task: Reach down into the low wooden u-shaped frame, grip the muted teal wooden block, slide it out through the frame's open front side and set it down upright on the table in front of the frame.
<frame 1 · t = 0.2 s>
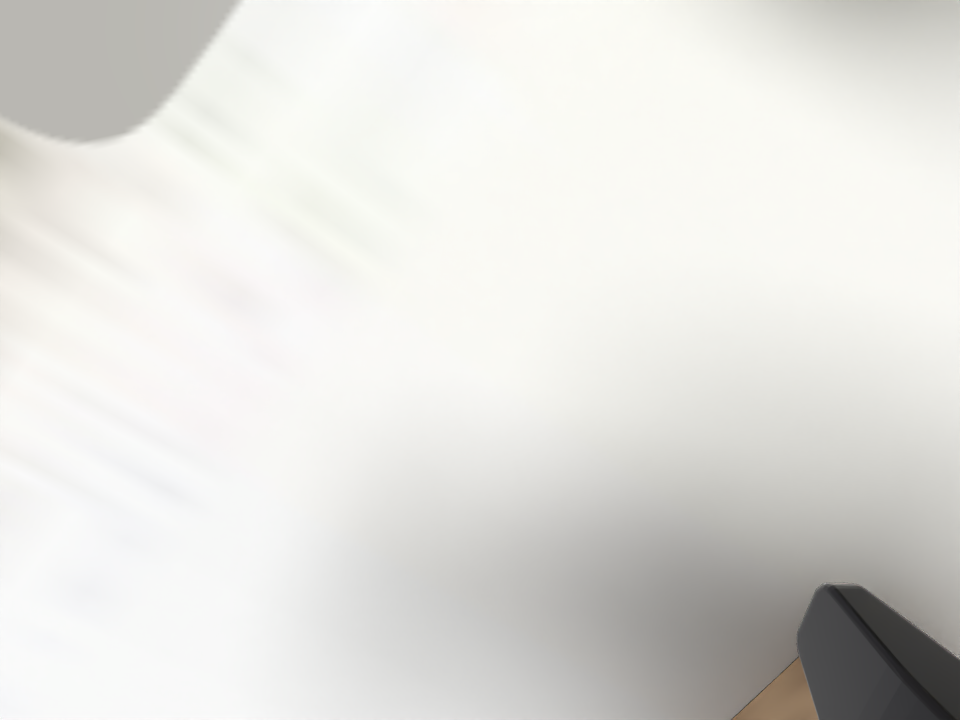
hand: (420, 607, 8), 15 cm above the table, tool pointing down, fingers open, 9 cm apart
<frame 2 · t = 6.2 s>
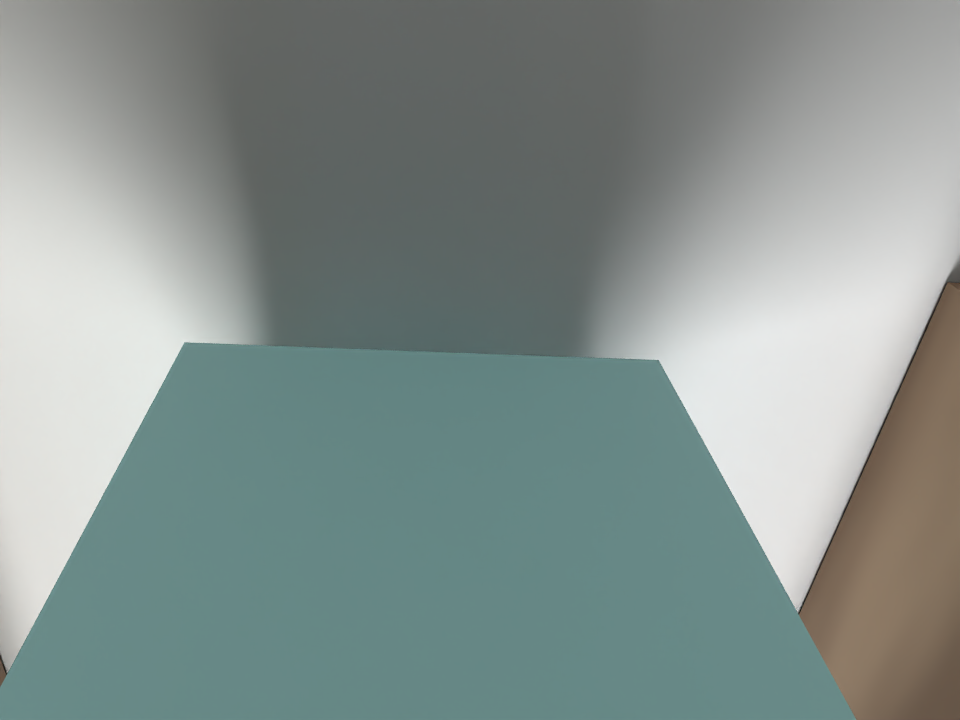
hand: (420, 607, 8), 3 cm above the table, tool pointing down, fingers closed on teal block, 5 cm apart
wooden u-shaped frame: (409, 697, 14), on the table
teal block: (418, 527, 9), point 2 cm above the table, touching gripper
when the fingers open (2 cm above the table, at t = 8.9 s): teal block drops 1 cm, on the table.
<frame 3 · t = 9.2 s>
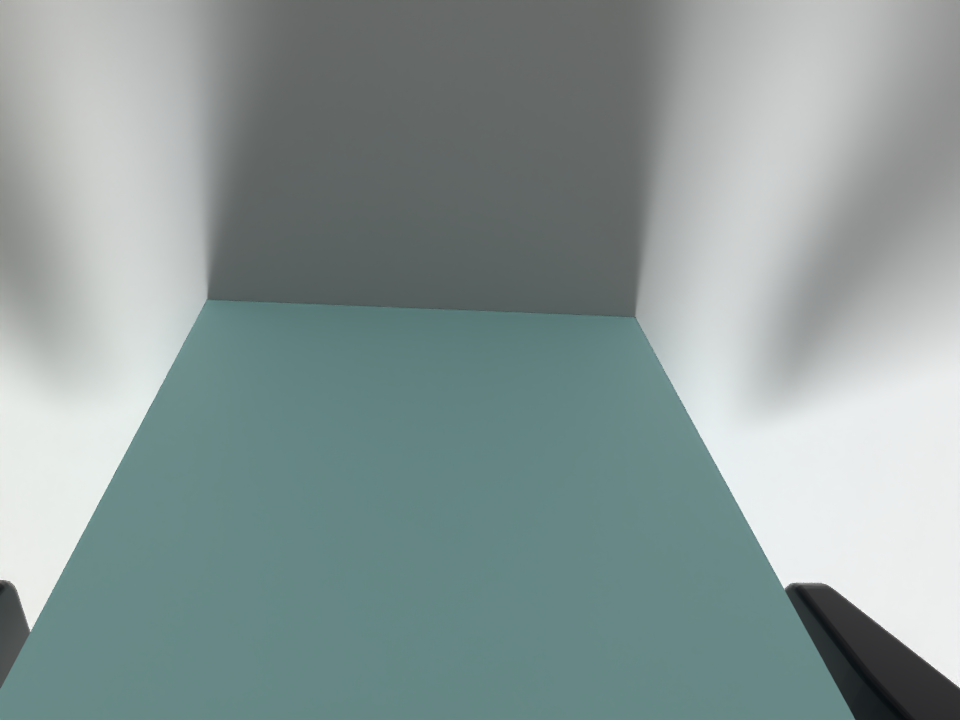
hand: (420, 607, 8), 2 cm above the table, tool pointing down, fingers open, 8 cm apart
teal block: (418, 472, 10), on the table
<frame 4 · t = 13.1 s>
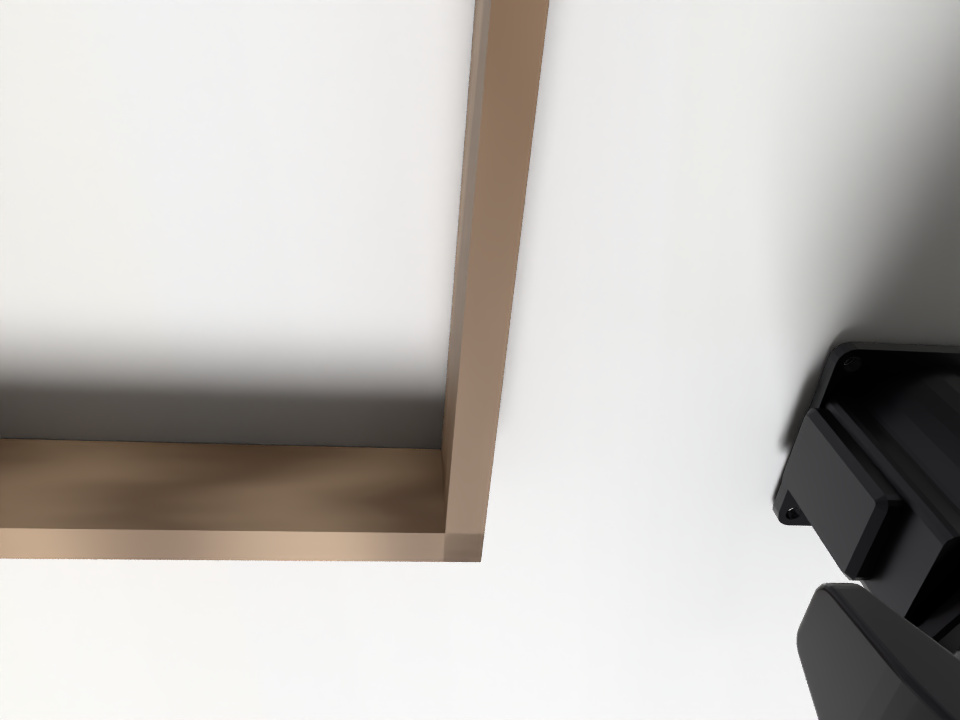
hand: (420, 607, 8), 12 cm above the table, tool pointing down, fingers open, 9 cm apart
wooden u-shaped frame: (140, 23, 16), on the table
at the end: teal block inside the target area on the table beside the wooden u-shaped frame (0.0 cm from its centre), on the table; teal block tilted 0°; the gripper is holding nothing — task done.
